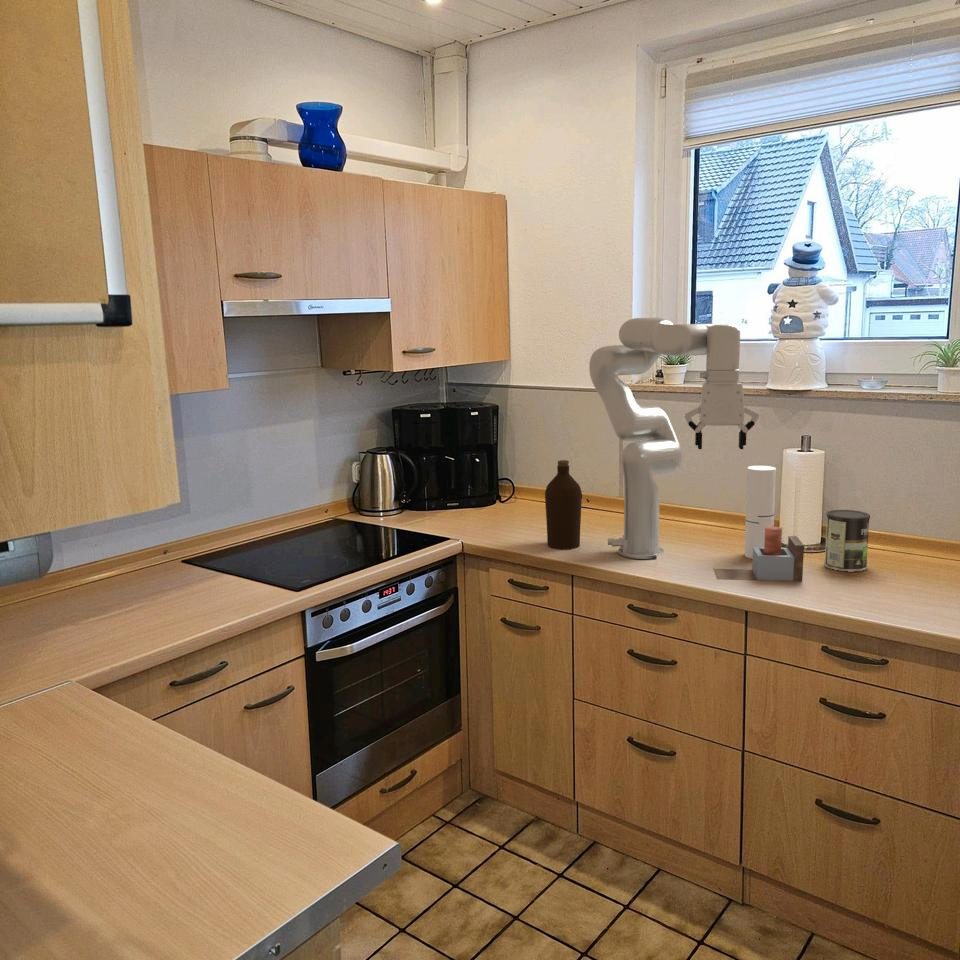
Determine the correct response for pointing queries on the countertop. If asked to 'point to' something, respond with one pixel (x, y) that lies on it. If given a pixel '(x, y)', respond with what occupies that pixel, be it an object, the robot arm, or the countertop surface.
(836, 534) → the coffee can
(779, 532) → the dowel
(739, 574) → the rail
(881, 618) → the countertop surface
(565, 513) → the olive oil
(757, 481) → the cylindrical container
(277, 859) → the countertop surface
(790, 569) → the socket block
